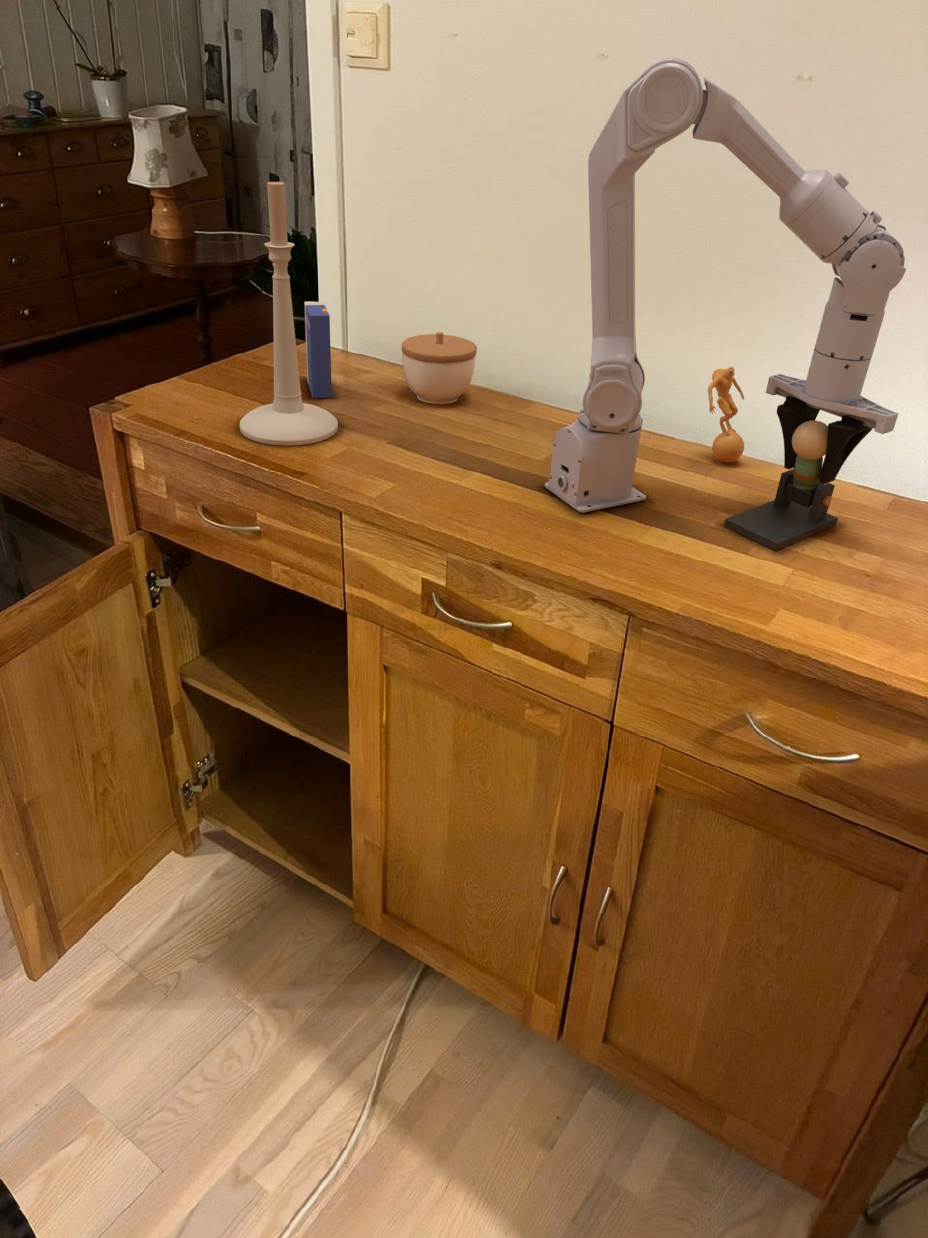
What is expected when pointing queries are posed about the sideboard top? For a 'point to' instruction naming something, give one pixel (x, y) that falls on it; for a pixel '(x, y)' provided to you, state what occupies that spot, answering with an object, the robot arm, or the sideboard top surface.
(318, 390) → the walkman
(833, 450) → the robot arm
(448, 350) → the trinket box
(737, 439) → the figurine
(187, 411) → the sideboard top surface
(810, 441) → the peg doll
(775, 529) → the toy stand
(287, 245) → the candlestick
